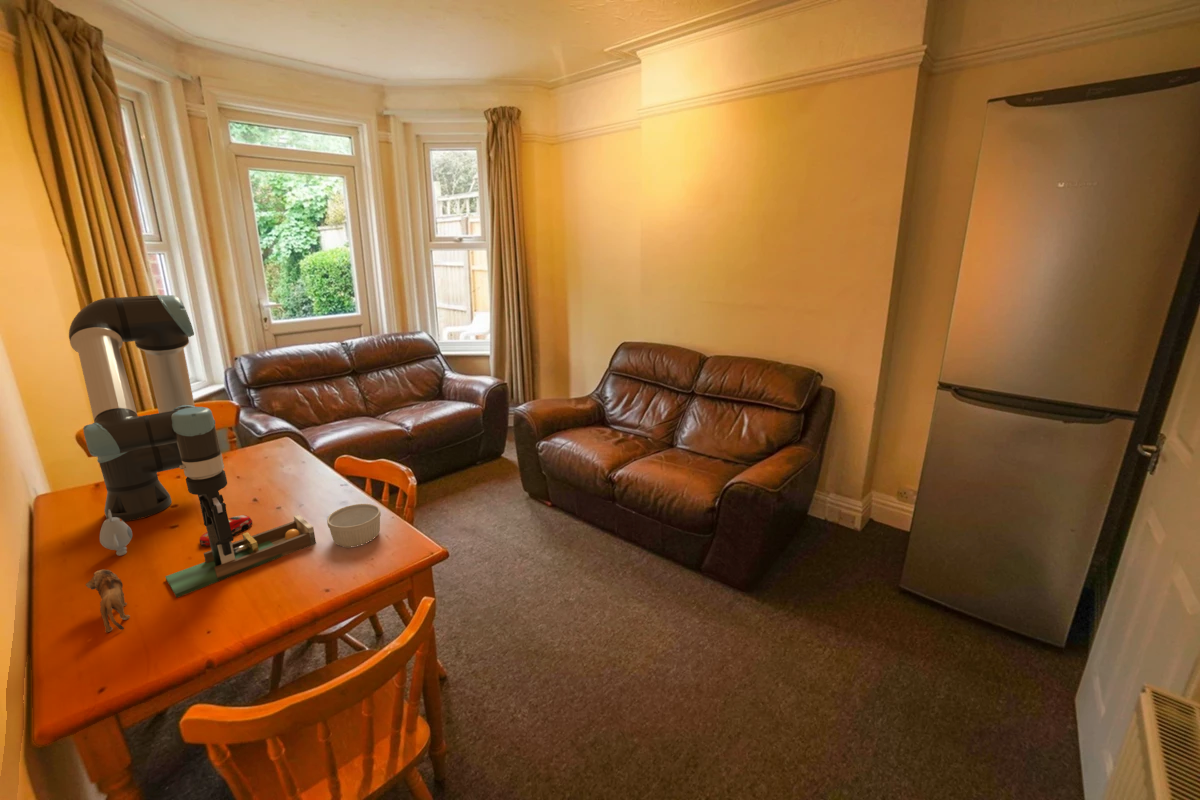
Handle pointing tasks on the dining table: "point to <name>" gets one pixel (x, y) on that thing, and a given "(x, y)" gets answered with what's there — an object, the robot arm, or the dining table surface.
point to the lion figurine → (109, 596)
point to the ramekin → (354, 524)
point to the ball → (291, 534)
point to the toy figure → (115, 534)
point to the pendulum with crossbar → (249, 546)
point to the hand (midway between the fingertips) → (224, 559)
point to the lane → (243, 557)
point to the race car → (236, 527)
